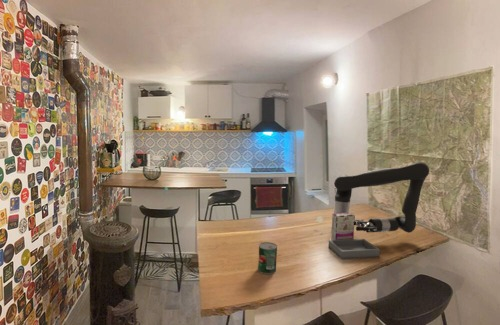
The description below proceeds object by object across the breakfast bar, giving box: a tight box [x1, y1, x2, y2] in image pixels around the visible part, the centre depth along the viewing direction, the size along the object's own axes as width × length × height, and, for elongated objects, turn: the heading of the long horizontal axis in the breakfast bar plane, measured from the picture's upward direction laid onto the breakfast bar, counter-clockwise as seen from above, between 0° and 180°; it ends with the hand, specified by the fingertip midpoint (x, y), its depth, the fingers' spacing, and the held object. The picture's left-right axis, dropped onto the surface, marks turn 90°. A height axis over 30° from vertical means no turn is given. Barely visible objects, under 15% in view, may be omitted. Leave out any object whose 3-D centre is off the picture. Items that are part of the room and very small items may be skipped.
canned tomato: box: [257, 241, 278, 275], centre depth 129 cm, size 8×8×11 cm
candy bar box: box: [330, 212, 356, 240], centre depth 162 cm, size 11×5×16 cm, turn 105°
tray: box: [328, 238, 381, 260], centre depth 151 cm, size 14×20×4 cm
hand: (352, 226), depth 163 cm, fingers open, 8 cm apart
